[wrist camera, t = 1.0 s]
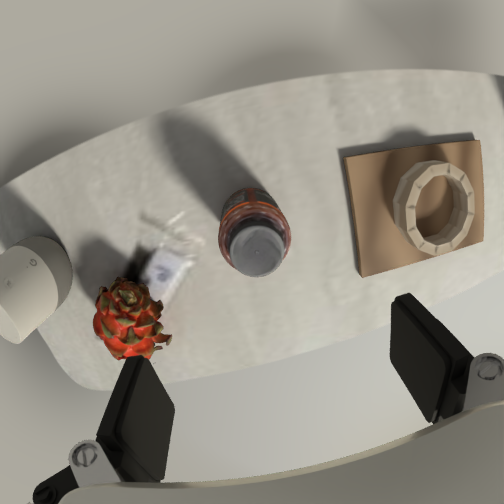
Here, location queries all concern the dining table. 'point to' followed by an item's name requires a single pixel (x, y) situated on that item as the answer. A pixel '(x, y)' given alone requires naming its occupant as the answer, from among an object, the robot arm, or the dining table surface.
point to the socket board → (427, 209)
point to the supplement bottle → (253, 233)
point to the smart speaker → (31, 285)
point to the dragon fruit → (129, 320)
